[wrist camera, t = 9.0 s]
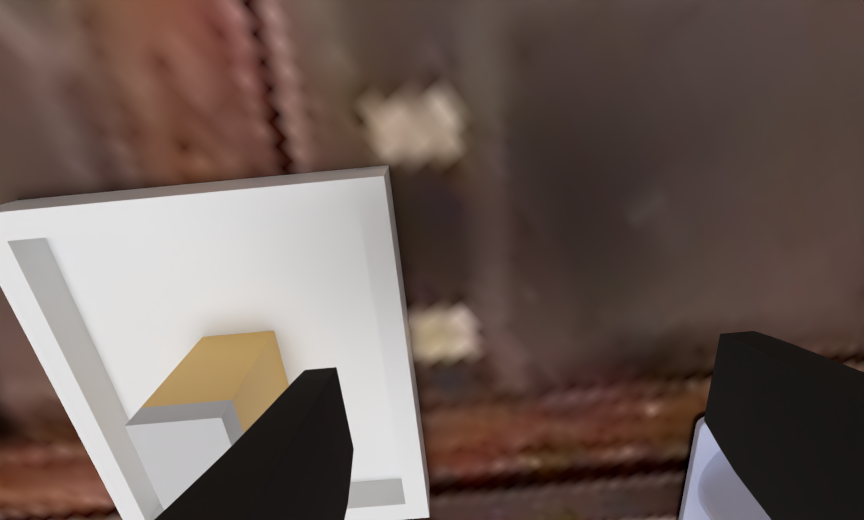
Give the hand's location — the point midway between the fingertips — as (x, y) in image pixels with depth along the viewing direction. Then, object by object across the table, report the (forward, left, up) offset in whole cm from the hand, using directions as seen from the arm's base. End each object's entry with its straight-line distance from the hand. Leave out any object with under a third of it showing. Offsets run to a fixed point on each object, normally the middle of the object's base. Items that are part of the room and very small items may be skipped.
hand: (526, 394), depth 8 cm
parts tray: (+10, +5, -9) cm, 15 cm away
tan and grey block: (+10, +5, -9) cm, 14 cm away
